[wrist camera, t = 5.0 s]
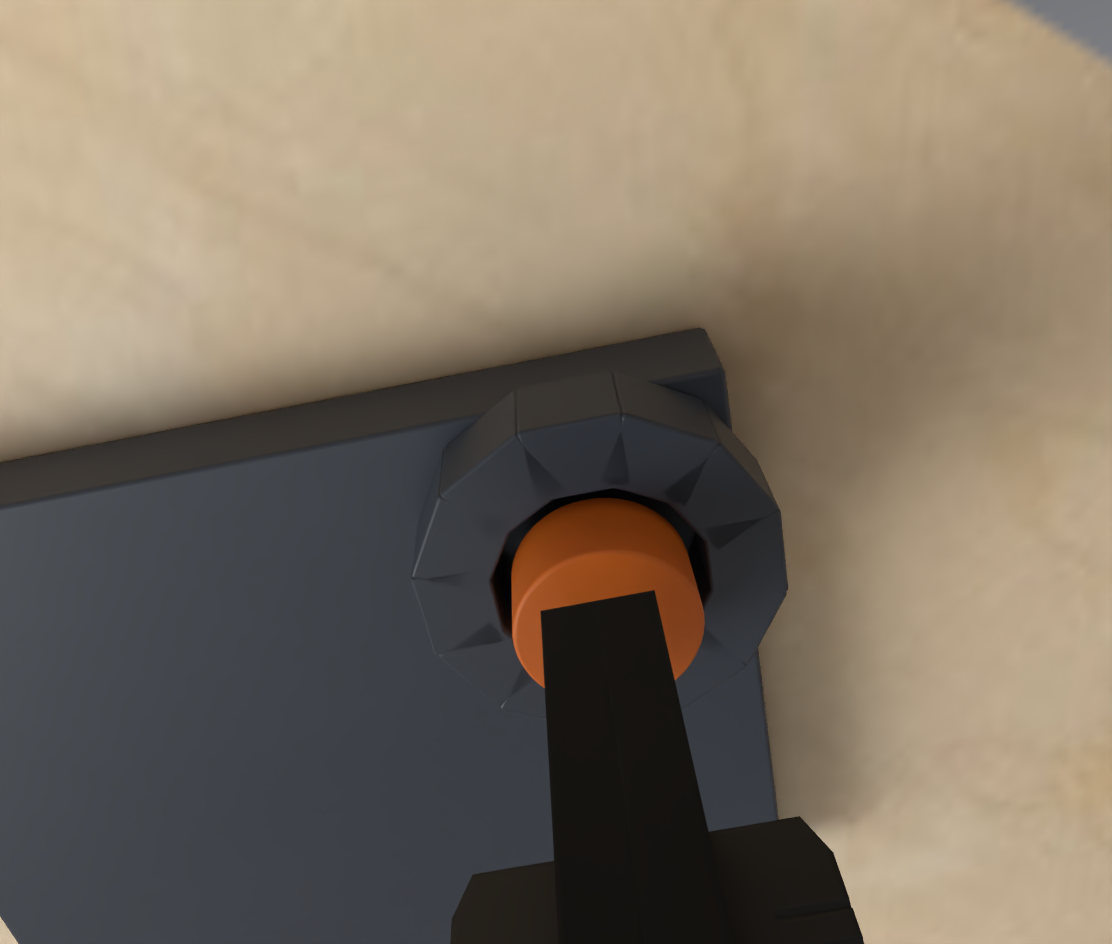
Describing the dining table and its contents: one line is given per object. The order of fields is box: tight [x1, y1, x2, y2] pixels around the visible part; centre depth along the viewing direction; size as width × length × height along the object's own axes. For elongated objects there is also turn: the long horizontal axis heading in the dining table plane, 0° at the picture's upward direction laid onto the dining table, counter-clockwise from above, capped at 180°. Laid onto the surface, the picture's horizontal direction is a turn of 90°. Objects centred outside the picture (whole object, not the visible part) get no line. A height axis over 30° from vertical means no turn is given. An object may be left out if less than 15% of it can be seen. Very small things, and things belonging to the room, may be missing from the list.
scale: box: [0, 328, 788, 944], centre depth 20 cm, size 16×13×4 cm
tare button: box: [511, 498, 705, 688], centre depth 16 cm, size 3×3×2 cm
